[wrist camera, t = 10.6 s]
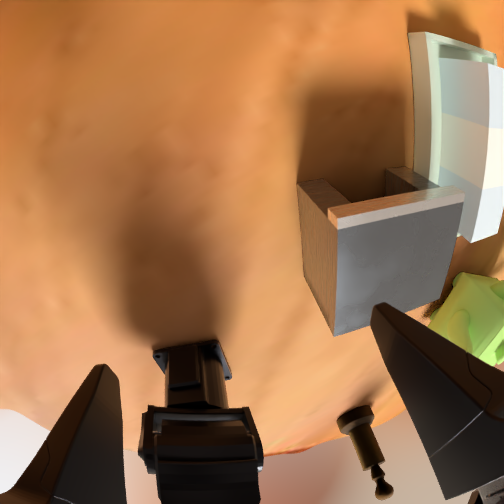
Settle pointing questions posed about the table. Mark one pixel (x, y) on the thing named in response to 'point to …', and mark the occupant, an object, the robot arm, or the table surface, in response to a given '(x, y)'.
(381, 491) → the dark turned peg
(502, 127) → the white square column
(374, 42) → the table surface
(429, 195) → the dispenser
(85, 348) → the table surface
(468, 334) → the kettle
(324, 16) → the table surface
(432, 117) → the dish
